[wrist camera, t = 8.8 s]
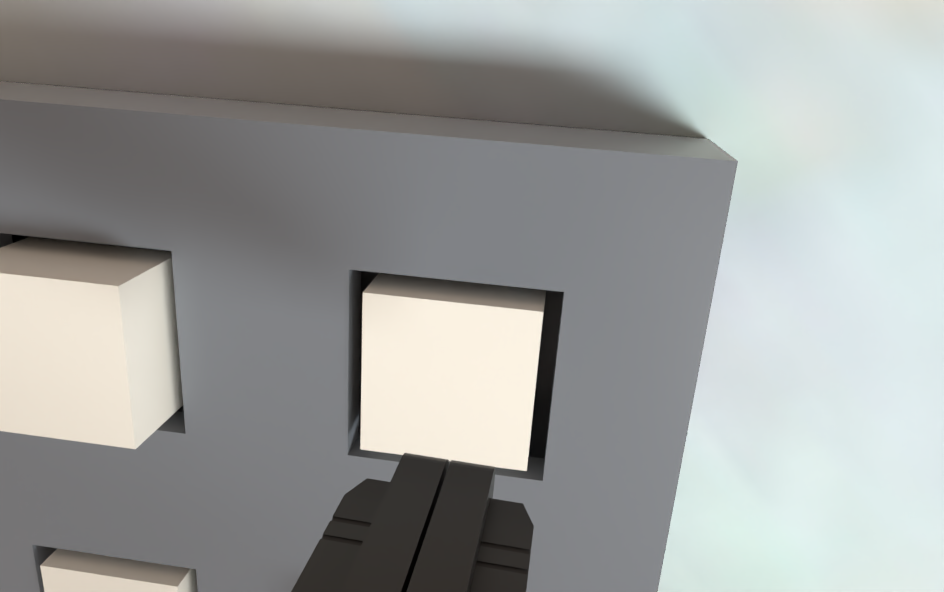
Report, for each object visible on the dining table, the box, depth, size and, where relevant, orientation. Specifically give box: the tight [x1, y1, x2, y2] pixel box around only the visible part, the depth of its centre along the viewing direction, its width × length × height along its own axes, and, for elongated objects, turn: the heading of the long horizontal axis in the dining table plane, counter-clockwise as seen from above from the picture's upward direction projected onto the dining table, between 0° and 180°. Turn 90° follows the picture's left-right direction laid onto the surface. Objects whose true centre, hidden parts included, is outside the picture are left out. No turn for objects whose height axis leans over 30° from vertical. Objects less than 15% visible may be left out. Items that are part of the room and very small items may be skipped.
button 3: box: [360, 273, 546, 471], centre depth 18 cm, size 4×4×3 cm
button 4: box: [0, 237, 183, 449], centre depth 18 cm, size 4×4×3 cm
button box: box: [0, 81, 738, 592], centre depth 21 cm, size 20×20×4 cm
